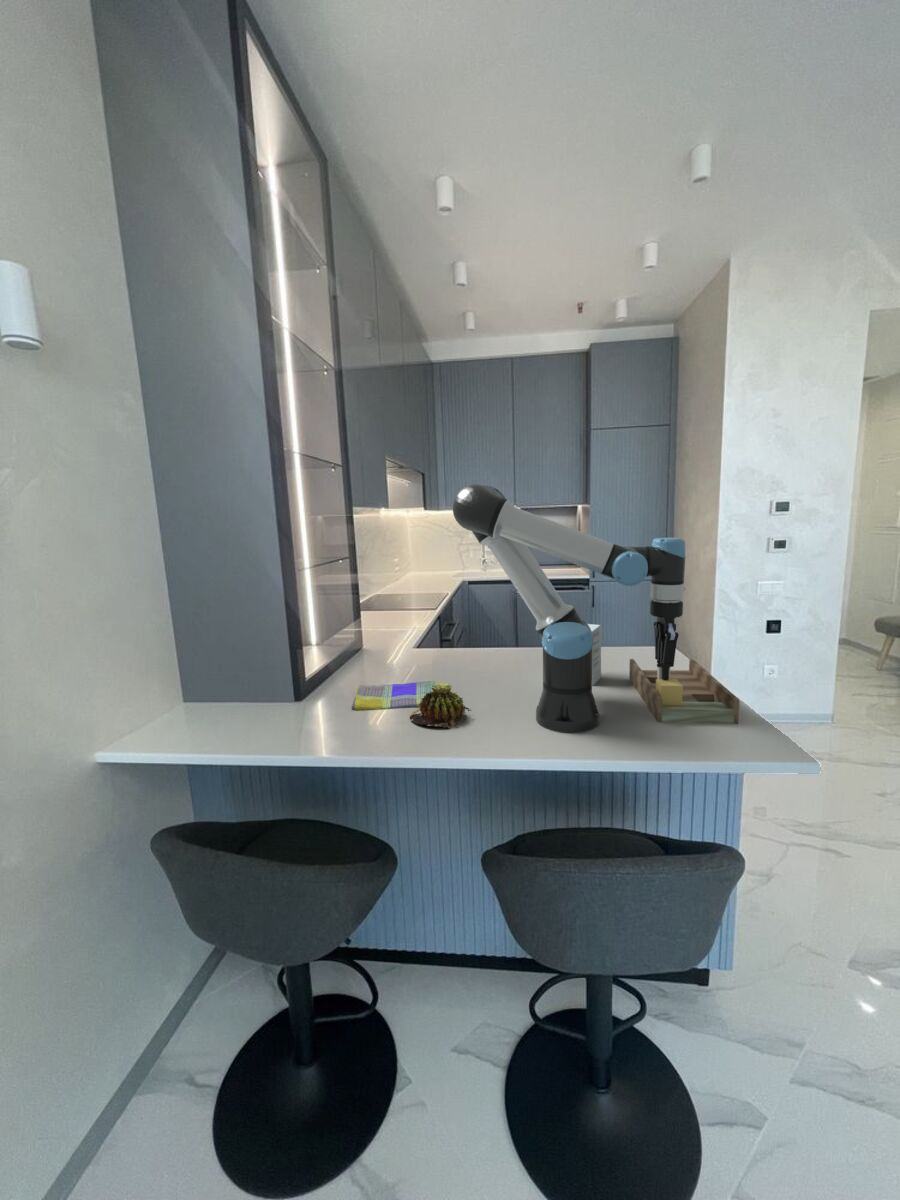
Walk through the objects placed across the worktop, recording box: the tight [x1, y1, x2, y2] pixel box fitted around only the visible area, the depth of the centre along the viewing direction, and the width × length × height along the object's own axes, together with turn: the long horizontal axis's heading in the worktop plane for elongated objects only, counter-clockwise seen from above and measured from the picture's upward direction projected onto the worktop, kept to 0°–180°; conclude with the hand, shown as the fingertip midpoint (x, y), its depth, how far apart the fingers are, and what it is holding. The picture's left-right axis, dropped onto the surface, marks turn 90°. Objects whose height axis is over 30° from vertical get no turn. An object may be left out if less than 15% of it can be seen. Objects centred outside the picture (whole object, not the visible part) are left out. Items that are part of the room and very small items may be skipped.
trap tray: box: [628, 658, 740, 725], centre depth 134 cm, size 33×18×6 cm, turn 172°
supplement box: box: [587, 623, 602, 687], centre depth 152 cm, size 10×9×17 cm
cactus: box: [409, 682, 475, 730], centre depth 128 cm, size 17×16×10 cm
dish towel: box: [351, 680, 436, 712], centre depth 144 cm, size 18×24×3 cm
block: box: [656, 679, 683, 705], centre depth 126 cm, size 5×5×5 cm
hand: (663, 689), depth 129 cm, fingers closed
